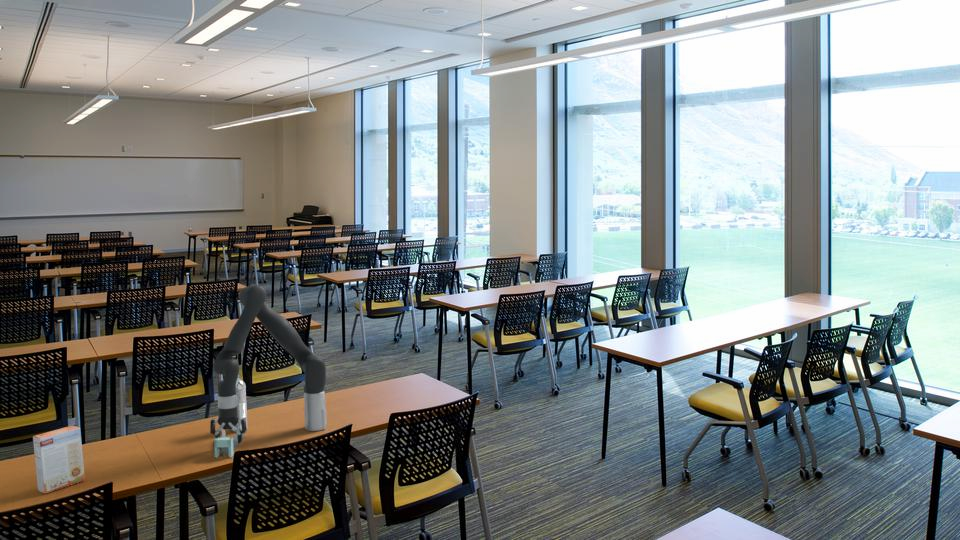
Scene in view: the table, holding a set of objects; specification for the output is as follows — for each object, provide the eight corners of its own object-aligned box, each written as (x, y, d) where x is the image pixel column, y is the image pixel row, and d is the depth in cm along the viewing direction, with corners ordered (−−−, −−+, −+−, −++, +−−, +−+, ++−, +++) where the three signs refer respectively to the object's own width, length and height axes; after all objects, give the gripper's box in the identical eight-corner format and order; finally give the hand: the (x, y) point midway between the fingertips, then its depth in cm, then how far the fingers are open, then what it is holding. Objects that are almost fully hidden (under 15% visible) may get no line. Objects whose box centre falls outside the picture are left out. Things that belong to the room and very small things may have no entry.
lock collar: (231, 457, 278) (230, 439, 277) (214, 457, 278) (213, 440, 277) (233, 454, 281) (232, 437, 280) (217, 454, 281) (216, 437, 280)
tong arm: (226, 450, 285) (226, 442, 285) (222, 451, 285) (222, 442, 284) (225, 438, 300) (225, 429, 299) (222, 438, 299) (221, 430, 299)
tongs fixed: (230, 454, 281) (229, 444, 281) (221, 454, 281) (220, 444, 281) (244, 437, 301) (243, 428, 301) (235, 437, 301) (235, 428, 301)
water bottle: (242, 432, 307) (240, 378, 304) (228, 431, 308) (226, 377, 306) (250, 427, 314) (248, 374, 311) (236, 426, 315) (234, 373, 312)
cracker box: (77, 477, 259) (73, 424, 257) (85, 481, 256) (81, 427, 253) (36, 491, 248) (32, 435, 245) (44, 495, 244) (39, 438, 242)
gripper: (247, 402, 289) (248, 439, 291) (213, 402, 288) (214, 440, 290) (242, 407, 282) (243, 446, 284) (207, 408, 281) (208, 446, 283)
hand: (229, 443), depth 287 cm, fingers open, 8 cm apart
